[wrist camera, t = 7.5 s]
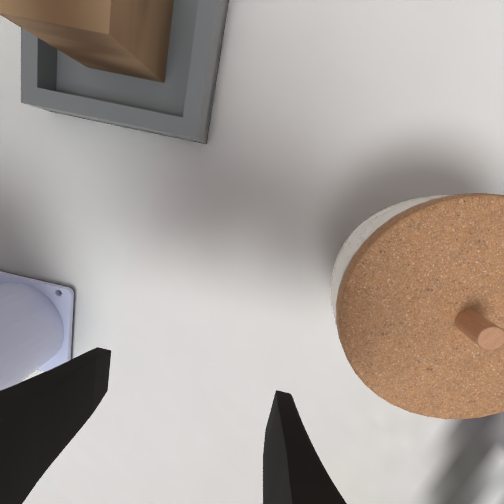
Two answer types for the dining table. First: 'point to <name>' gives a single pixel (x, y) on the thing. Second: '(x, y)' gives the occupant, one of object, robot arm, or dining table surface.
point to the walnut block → (101, 32)
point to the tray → (136, 79)
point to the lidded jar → (427, 304)
